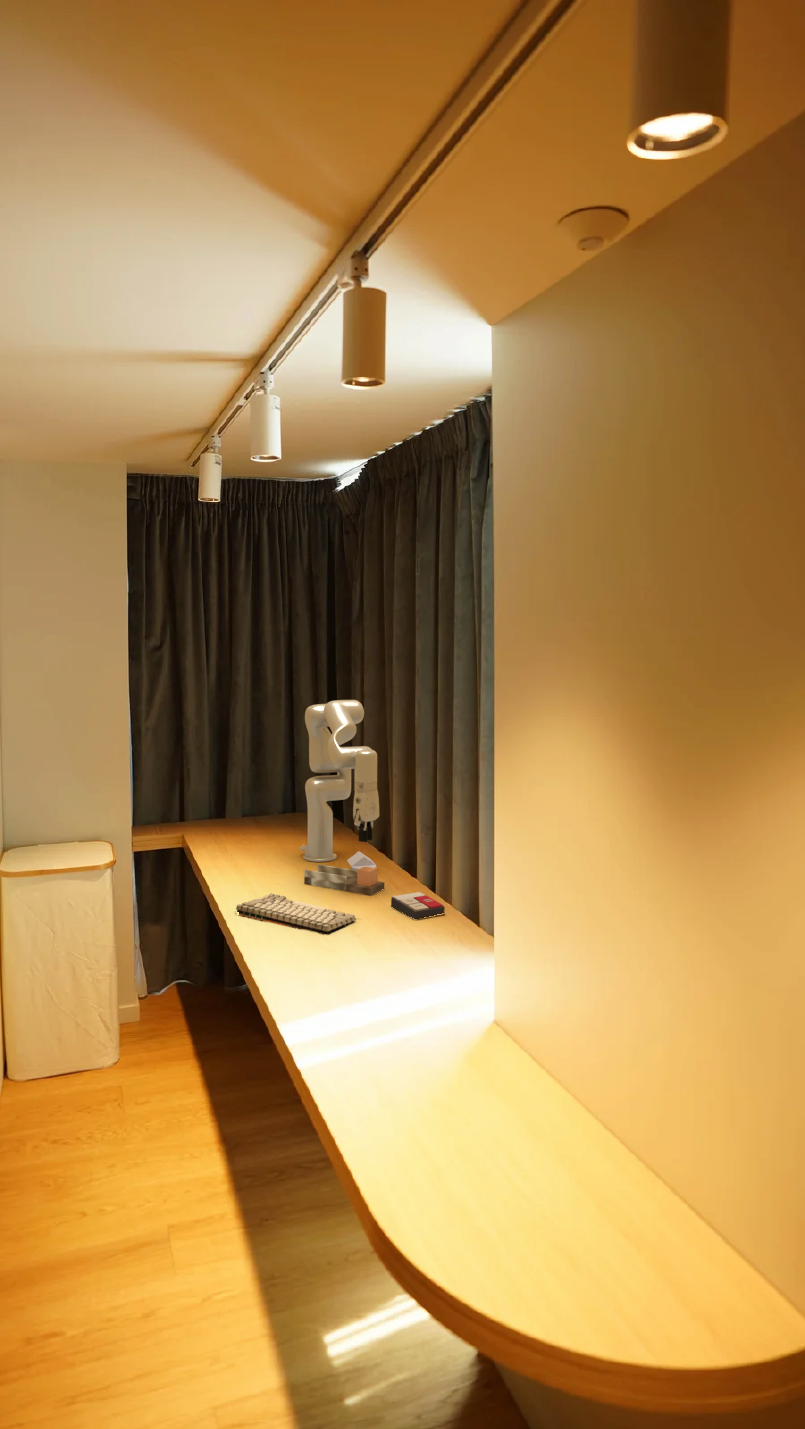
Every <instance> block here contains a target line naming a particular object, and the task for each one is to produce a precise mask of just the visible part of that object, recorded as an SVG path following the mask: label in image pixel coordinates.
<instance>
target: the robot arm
mask: <svg viewBox="0 0 805 1429" xmlns="http://www.w3.org/2000/svg"><path fill="white" fill-rule="evenodd" d="M364 716H365V709H364V707H363V704H362V703H361V702H360V701H358V700H356V699H339V700H337V699H336V700H331V701H328V702H326V703H319V704H318V703H317V704H312V705H310V706H308V707H307V708H306V709H305V713H304V723H305V726H306V729H307V732H308V740H309V741H308V752H309V753H308V757H309V761H308V762H309V763H308V764H309V768H310V770H311V772H313V773H316V774H317V773H318V774H320V773H321V774H323V773H325V774H326V773H337V774H335V775H333V774H332V775H317V776H313V777H310V778H308V779H307V780H306V782H305V785H304V789H305V796H306V805H307V844H301V845H300V847H299V852H300V851H302V852H304V853H305V854H303V859H304V860H305V861H309V862H314V863H315V862H316V863H322V862H323V863H324V862H325V863H326V862H331V861H334V860H336V859H337V854H336V853H335V852H333V848H334V847H333V840H334V838H333V837H334V836H333V835H334V834H333V833H334V831H333V828H334V827H333V824H334V823H333V822H334V820H333V818H334V817H333V816H334V813H333V810H332V808H331V807H330V806H329V805H328V803H327V802H330V801H341V800H347V799H348V798H349V797H350V796H351V793H352V769H353V770H354V797H353V808H352V812H353V813H352V816H353V820H354V823H353V824H354V826H356V828H357V830H358V841H359V842H363V843H368V842H369V841H372V840H373V828H374V822H375V821H376V820H377V819H378V818H379V817H380V801H379V791H378V753H377V752H376V751H375V750H374V749H372V748H371V747H369V746H364V745H362V746H361V745H360V746H341V745H343V744H345V743H347V742H349V741H351V740H352V739H353V738H354V737H355V735H356V734H357V726H356V725H358V724H359V723H361V722H362V721H363V719H364ZM328 727H329V728H328ZM329 729H330V730H329ZM330 731H331V732H330Z"/></svg>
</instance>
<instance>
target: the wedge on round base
mask: <svg viewBox="0 0 805 1429" xmlns="http://www.w3.org/2000/svg"><path fill="white" fill-rule="evenodd" d="M346 861H347V863H348V864H349V865H350V867H351V868H350V870H356V871H357V870H358V869H360V868H362V867H365V866H366V867H372V868H377V864H376V863H375V862H374V861H373V860H372V858H370V857H368V856H367V855H365V854H364V853H363V852H361V851H360V850H358V851H357V852H356V853H354V855H352V856H351V857H349V858H348V859H347V860H346Z"/></svg>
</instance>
